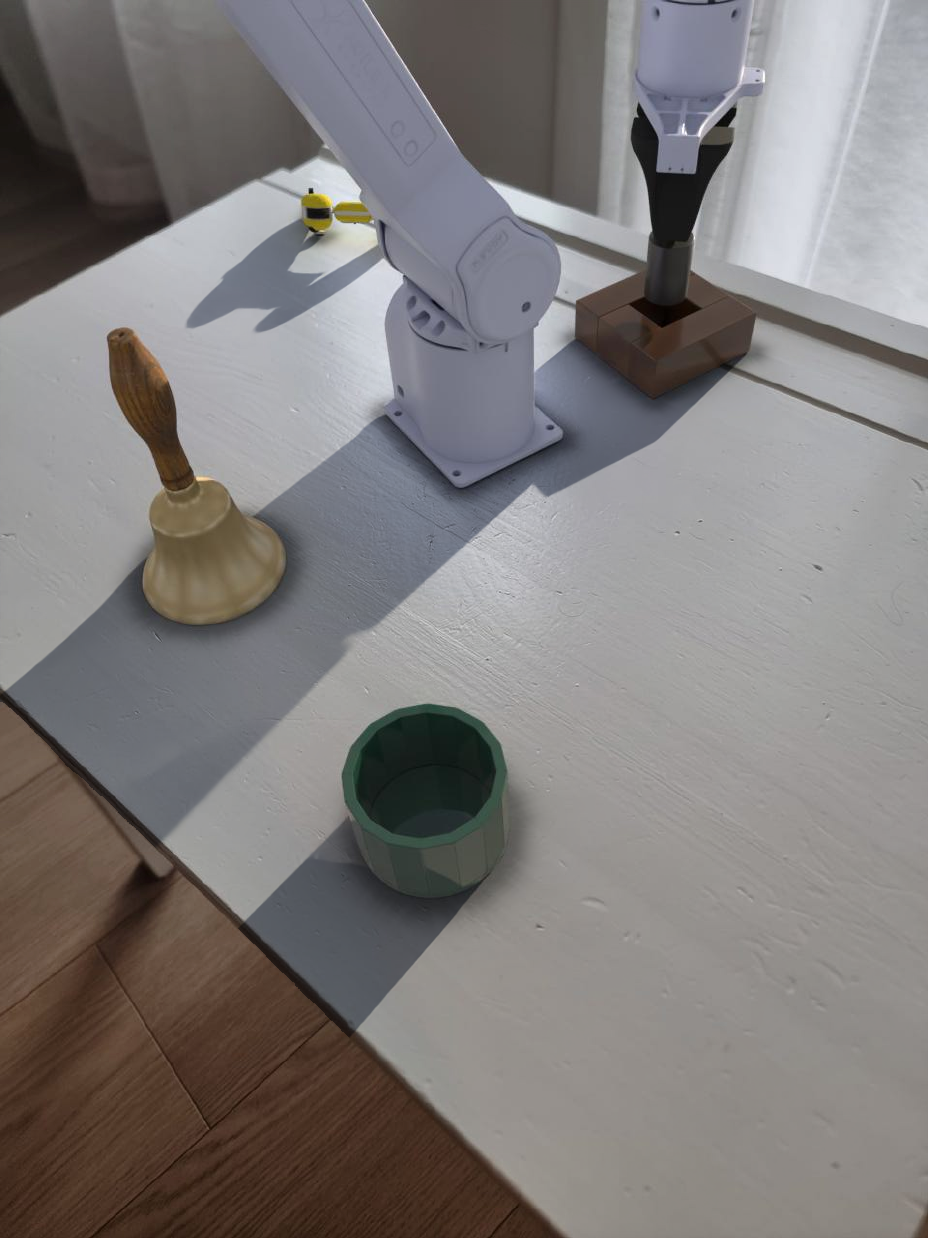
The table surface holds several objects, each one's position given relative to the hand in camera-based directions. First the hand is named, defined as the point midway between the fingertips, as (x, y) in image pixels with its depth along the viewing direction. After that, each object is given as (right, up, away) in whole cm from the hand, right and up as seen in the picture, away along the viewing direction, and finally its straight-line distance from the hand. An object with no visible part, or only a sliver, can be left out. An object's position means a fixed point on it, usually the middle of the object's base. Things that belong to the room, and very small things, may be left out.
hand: (672, 230), depth 62 cm
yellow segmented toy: (-21, +7, +19) cm, 29 cm away
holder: (+1, -5, +7) cm, 8 cm away
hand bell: (-27, -21, -4) cm, 35 cm away
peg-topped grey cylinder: (0, -3, +3) cm, 4 cm away
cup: (-14, -34, -15) cm, 40 cm away
